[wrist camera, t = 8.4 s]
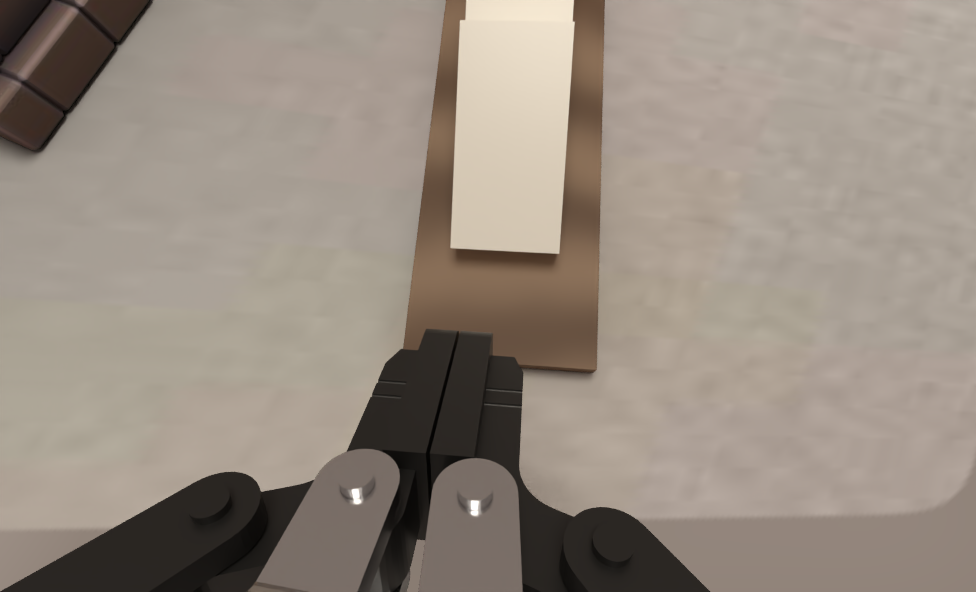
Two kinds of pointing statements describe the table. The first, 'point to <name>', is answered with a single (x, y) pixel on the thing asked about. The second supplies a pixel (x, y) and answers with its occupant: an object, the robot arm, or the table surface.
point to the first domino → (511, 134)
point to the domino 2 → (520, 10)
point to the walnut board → (507, 274)
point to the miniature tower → (53, 58)
